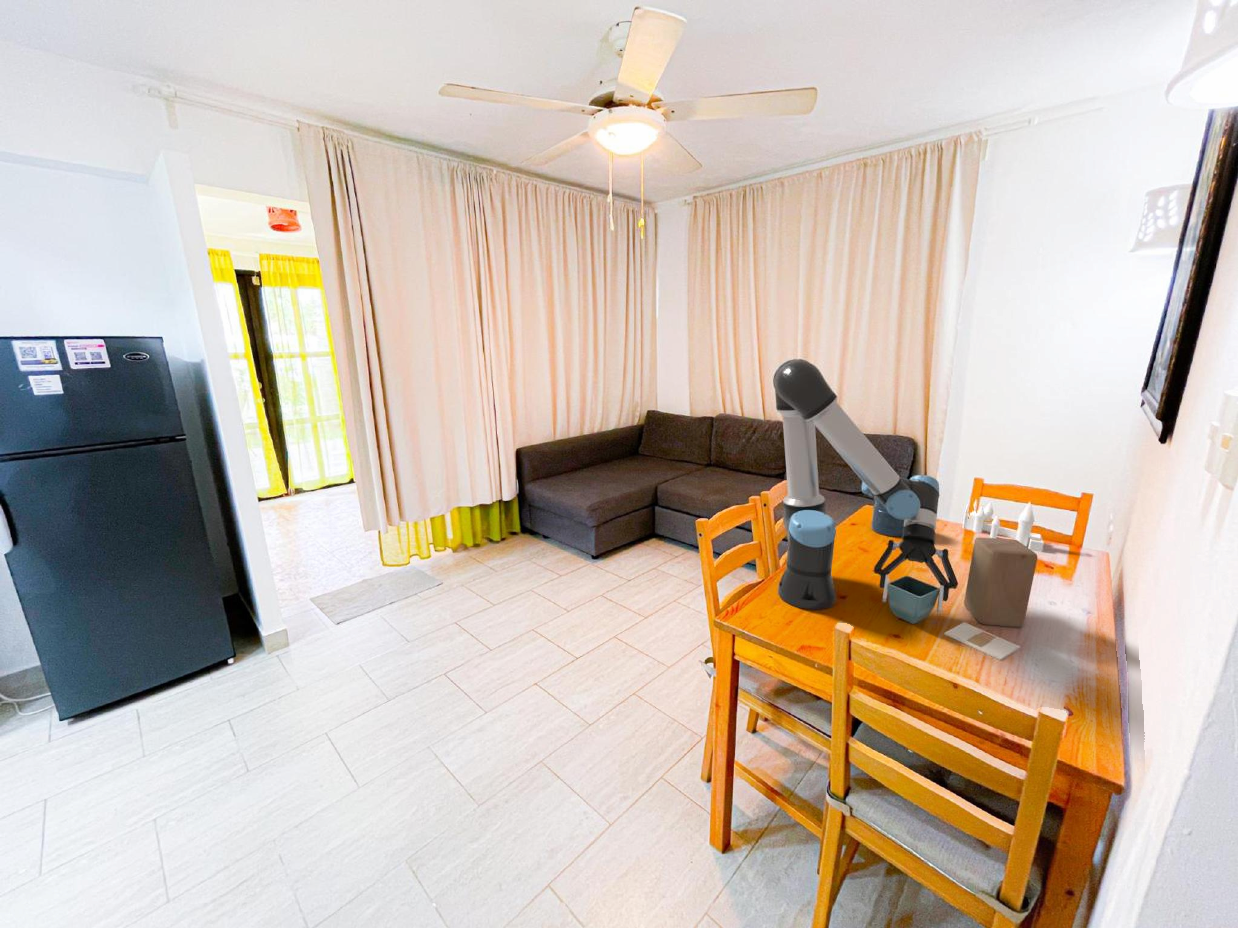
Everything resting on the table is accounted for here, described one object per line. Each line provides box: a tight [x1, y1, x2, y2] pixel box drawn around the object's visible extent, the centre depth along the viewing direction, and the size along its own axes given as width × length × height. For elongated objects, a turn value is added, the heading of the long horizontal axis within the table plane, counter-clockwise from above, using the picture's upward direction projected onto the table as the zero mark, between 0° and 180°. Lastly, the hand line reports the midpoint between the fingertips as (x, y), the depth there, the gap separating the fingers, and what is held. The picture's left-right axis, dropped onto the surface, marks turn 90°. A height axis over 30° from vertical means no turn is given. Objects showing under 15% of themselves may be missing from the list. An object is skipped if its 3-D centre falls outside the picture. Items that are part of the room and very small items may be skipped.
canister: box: [870, 497, 904, 538], centre depth 186 cm, size 13×13×18 cm
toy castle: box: [962, 498, 1045, 553], centre depth 180 cm, size 14×25×16 cm, turn 37°
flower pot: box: [887, 575, 940, 625], centre depth 129 cm, size 9×9×9 cm
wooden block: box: [963, 537, 1039, 628], centre depth 128 cm, size 10×10×20 cm
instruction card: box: [944, 622, 1021, 661], centre depth 120 cm, size 12×9×1 cm
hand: (911, 606), depth 127 cm, fingers closed on flower pot, 11 cm apart
